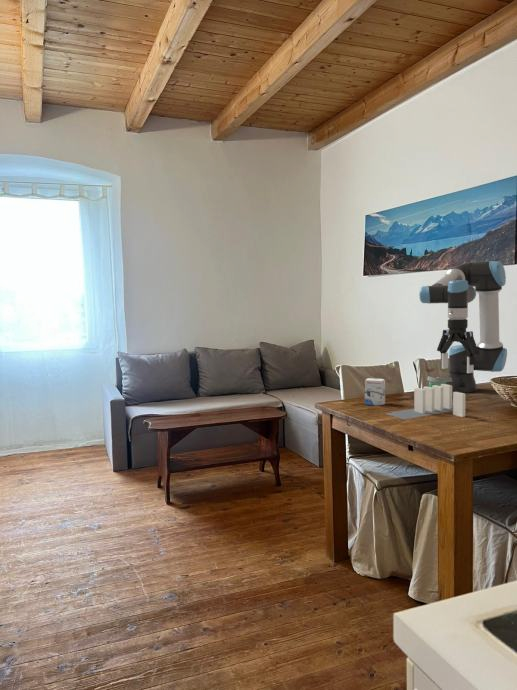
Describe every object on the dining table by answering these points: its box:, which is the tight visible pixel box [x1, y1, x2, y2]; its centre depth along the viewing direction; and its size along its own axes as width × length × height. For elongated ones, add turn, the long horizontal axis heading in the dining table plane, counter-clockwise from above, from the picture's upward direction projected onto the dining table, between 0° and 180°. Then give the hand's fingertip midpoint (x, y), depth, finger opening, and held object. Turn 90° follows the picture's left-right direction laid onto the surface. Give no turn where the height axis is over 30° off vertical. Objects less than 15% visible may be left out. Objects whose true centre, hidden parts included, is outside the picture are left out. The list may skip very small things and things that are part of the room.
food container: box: [426, 374, 452, 388], centre depth 252 cm, size 12×6×10 cm, turn 42°
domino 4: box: [441, 384, 453, 409], centre depth 228 cm, size 2×5×10 cm, turn 25°
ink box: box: [364, 377, 386, 406], centre depth 242 cm, size 9×5×12 cm, turn 65°
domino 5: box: [452, 392, 466, 418], centre depth 214 cm, size 2×5×10 cm, turn 25°
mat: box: [384, 404, 453, 421], centre depth 224 cm, size 34×12×1 cm, turn 115°
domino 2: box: [422, 386, 435, 412], centre depth 224 cm, size 2×5×10 cm, turn 26°
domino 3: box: [432, 385, 443, 410], centre depth 226 cm, size 2×5×10 cm, turn 25°
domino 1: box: [413, 387, 426, 413], centre depth 222 cm, size 2×5×10 cm, turn 25°
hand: (457, 370), depth 213 cm, fingers open, 13 cm apart
